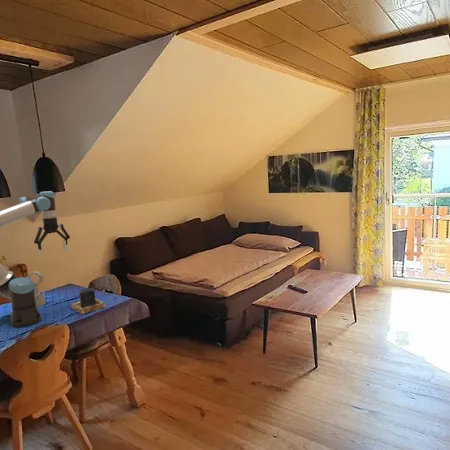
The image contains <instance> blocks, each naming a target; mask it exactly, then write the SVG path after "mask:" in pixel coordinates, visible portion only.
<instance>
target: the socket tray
mask: <svg viewBox="0 0 450 450" xmlns="http://www.w3.org/2000/svg"><path fill="white" fill-rule="evenodd" d="M95 300H96V305H92V306H89V307H85V308H82V307H81V302H80V301H77V302H74V303H73V302H72V303H71V310H73V311H75V312H76V311H77V312H76V313H78V312H79V313H78V314H80V315H85V313H86V314H88V312H89V313H91V312H95V310H96V311H99V310H101V309H102V308H103V309H105V308H106V302H104V301H102V300H100V299H98V298H96V297H95Z"/></svg>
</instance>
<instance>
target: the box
mask: <svg viewBox="0 0 450 450" xmlns="http://www.w3.org/2000/svg"><path fill="white" fill-rule="evenodd" d="M78 291H79V302H81V307H82V308H85V307H89V306H92V305H96V300H95V298H96V294H95V293H96V292H95V289H94V287H89V288H84V289H79V290H78Z"/></svg>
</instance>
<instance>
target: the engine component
mask: <svg viewBox="0 0 450 450" xmlns="http://www.w3.org/2000/svg"><path fill="white" fill-rule="evenodd" d="M32 275H36V276H38V278H39V280H38V281H37V282H34V281H33V284H34V291H35V299H36V306H37V308H38V307H42V306H44V305H45V304H46V303H47V302H46V297H45V296H46V294H45V291H44V292H42V294H41V293H40V291H39V289H40V288H39V285H40V283H43V282H44V276H43V275H42V274H41V273H40V272H39V271H32V272H30V273H29V274H28V275H27V276H26V278H30V279H32Z"/></svg>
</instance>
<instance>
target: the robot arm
mask: <svg viewBox="0 0 450 450" xmlns="http://www.w3.org/2000/svg"><path fill="white" fill-rule="evenodd" d="M39 212H41V215H42V222H43V226H38V228H37V233H36V236H35V238H34V241H33V243H34V244H35V245H36V244H37V247H38V248H37V249H38V250H39V251H40V256H44V254H45V253H44V248H43V247H44V246H43V243H42V242H43V241H44V239H45V238H46V236H47V235H49V234H54V233H56V234H57V235H59V236H60V237H61V238H62V245H63V251H67V250H68V249H67V245H68V239H69V240H70V239H71V236H70V234H69V233H68V231H66V229H65V228H64V224H63V223H60V224H58V218H57V210H56V200H55V195H54V192H53V191H52V190H51V191H50V190H48V191H45V190H44V191H40V192H39V195H31V196H22V197H19V198H18V203H17V204H15V205H13V206H9V207H8V208H5V209H2V210H0V228H2V227H4V226H6V225H9V224H11V223H14V222H16V221H19V220H22V219H24V218H26V217H29V216H31V215H33V214H36V213H39ZM58 228H59V229H61V231H62V232H61V231H60V230H58ZM42 232H43V233H42ZM41 234H42V235H41ZM33 282H34V280H33V279H32V278H31V279H30V278H27V277H25V276H24V277H21V276H20V277H18V276H17V275H16V274H15V273H14V272H13V271H9V270H7V269H6V268H5V267H4V265H2V264H1V263H0V296H1V297H2V298H4V299H8V300H9V301H10V302H11V309H12V311H11V315H10V323H9V324H10V326H11V327H13V328H23V327H29V326H31V325H36V324H37V323H39V322H41V320H42V319H43V318H42V313H41V312H40V310H39V308H38V307H37V306H36V299H35V291H34V284H33Z"/></svg>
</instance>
